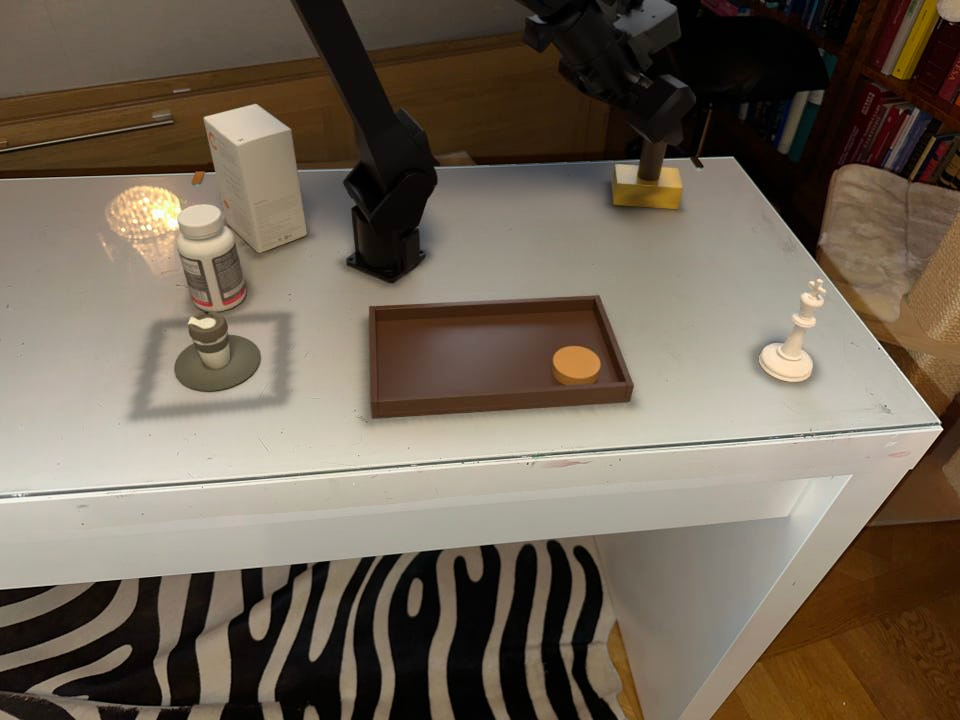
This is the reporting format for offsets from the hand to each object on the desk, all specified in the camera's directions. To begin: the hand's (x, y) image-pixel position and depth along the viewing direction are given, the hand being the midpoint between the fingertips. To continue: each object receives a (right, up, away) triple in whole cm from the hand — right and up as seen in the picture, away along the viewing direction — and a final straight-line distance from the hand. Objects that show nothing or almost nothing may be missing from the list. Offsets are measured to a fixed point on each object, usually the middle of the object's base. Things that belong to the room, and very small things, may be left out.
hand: (655, 125), depth 88 cm
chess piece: (+9, -28, -16) cm, 33 cm away
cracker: (-12, -29, -18) cm, 36 cm away
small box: (-45, -13, -1) cm, 47 cm away
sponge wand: (0, -7, +7) cm, 10 cm away
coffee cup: (-45, -28, -18) cm, 56 cm away
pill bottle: (-47, -21, -11) cm, 53 cm away
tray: (-19, -28, -17) cm, 38 cm away
